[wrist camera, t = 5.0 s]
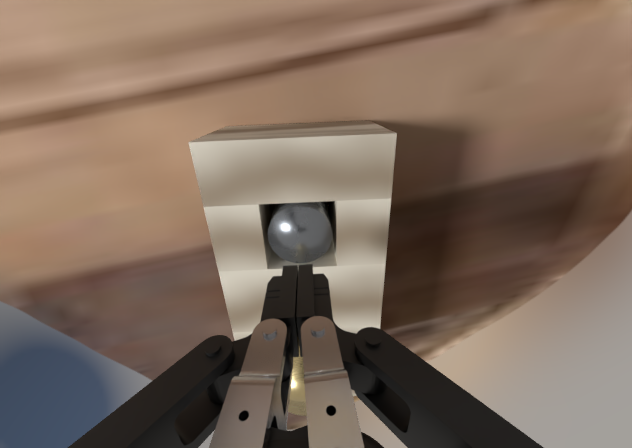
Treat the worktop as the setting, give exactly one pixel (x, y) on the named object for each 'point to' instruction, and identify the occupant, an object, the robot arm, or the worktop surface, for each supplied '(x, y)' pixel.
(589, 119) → the worktop surface
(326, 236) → the steel peg
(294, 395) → the brass peg
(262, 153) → the ash socket block
